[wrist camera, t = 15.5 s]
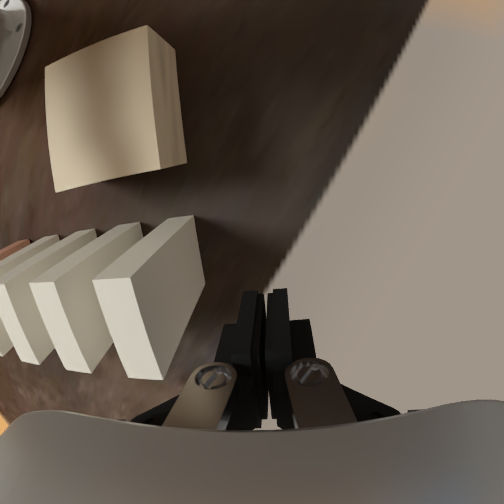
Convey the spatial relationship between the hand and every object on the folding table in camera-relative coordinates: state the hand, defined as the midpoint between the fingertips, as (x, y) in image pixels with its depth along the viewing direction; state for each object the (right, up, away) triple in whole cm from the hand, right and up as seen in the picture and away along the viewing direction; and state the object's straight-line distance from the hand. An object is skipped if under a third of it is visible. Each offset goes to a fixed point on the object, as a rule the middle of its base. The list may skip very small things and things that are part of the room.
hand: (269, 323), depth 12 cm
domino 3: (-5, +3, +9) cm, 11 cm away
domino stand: (-9, +12, +6) cm, 16 cm away
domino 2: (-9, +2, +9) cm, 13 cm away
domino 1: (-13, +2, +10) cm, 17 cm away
